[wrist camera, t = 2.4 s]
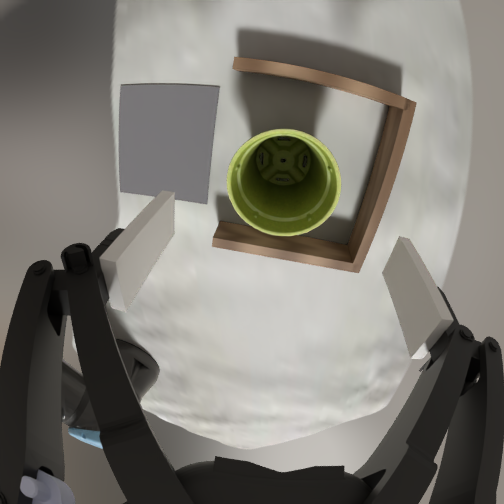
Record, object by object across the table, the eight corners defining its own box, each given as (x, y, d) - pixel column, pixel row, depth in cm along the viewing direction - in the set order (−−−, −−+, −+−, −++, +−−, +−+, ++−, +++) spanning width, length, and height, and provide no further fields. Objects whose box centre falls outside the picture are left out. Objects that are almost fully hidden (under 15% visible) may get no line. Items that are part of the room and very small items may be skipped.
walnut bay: (219, 229, 35) (212, 246, 32) (240, 60, 24) (234, 56, 20) (352, 254, 35) (358, 273, 32) (401, 99, 23) (416, 102, 20)
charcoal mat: (120, 191, 33) (120, 191, 33) (121, 85, 25) (120, 85, 25) (207, 204, 33) (206, 204, 33) (219, 86, 25) (219, 86, 25)
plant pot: (328, 119, 26) (345, 132, 19) (324, 200, 31) (335, 238, 24) (239, 117, 27) (223, 129, 20) (243, 197, 32) (230, 235, 25)
